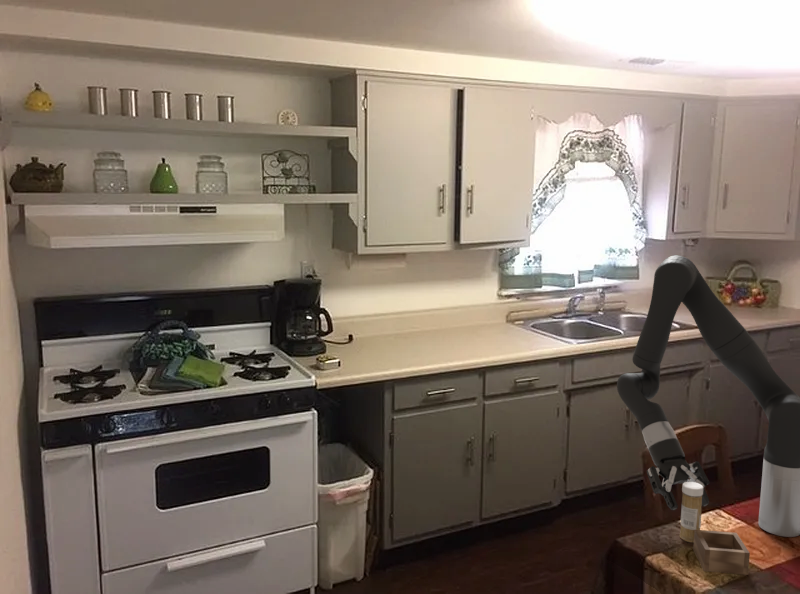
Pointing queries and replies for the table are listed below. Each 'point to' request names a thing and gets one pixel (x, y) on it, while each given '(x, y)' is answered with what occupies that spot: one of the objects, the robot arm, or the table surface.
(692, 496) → the sprinkles bottle
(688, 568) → the table surface
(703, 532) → the open square sleeve
